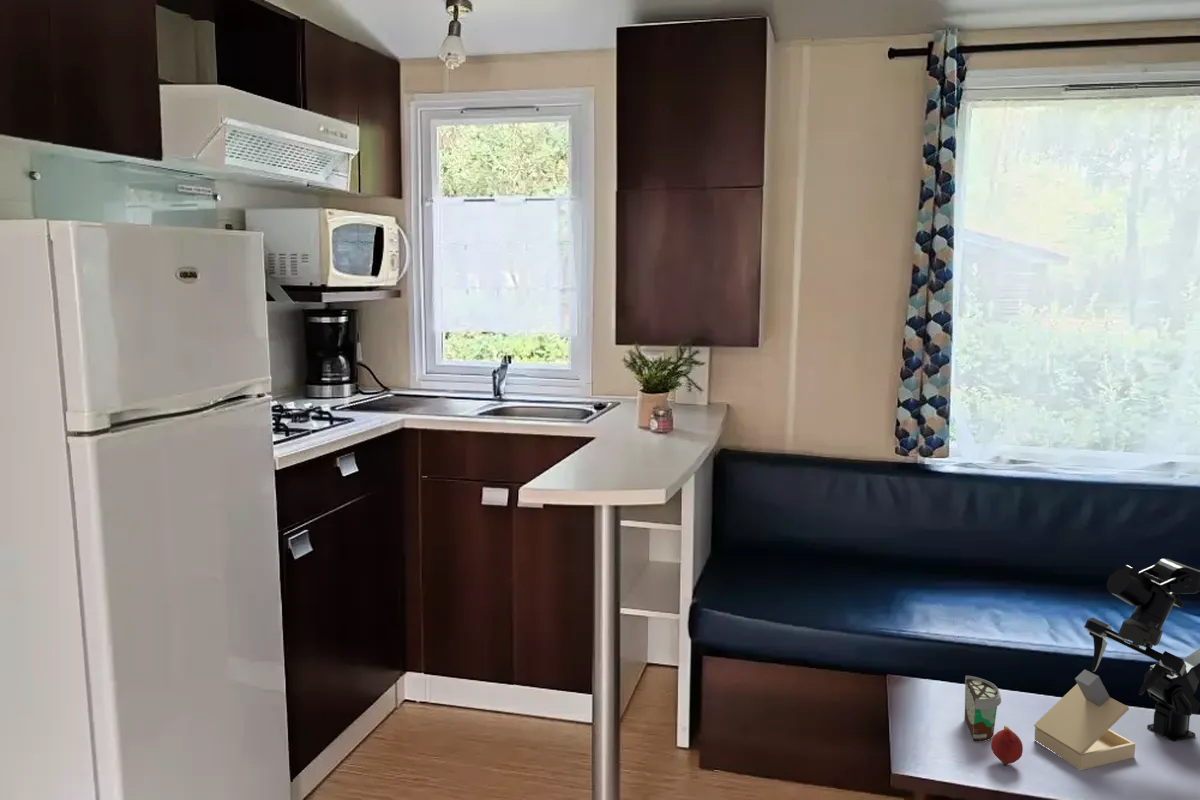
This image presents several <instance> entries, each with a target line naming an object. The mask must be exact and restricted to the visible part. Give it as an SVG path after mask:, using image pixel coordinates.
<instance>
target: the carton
mask: <svg viewBox="0 0 1200 800" xmlns="http://www.w3.org/2000/svg"><path fill="white" fill-rule="evenodd" d="M1034 739H1035V740H1036V741H1038V742H1039V743H1041V744H1042V745H1044V746H1045V747H1047V748H1049V749H1050V750H1052V751H1053V752H1055V753H1056V754H1057V755H1059V756H1061V757H1062V758H1063V759H1065V760H1066V761H1065V760H1064V761H1065V762H1067V761H1068V762H1069V763H1068V762H1067V763H1068V764H1070V765H1071V764H1072V765H1071V766H1073V767H1075V768H1076V767H1077V768H1076V769H1078V770H1079V769H1080V770H1079V771H1083V770H1088V769H1092V768H1096V767H1100V766H1104V765H1109V764H1112V763H1117V762H1121V761H1126V760H1129V759H1133V758H1135V753H1136V743H1135V742H1133V741H1132V740H1129V739H1128V738H1126V737H1124V736H1122V735H1120V734H1118V733H1117V732H1115V731H1114V730H1112V729H1110V728H1109V729H1108V730H1107V731H1106V732H1105V733H1104V734H1103V735H1102V736H1101V737H1100V738H1099V739H1098V740H1097V741H1096V742H1095V743H1094V744H1093V745H1092V746H1091V747H1090V748H1089V749H1088V750H1087V751H1086V752H1085V753H1084V754H1083V755H1082V756H1081V755H1080V754H1078V753H1076V752H1075V751H1073V750H1071V749H1070V748H1068V747H1066V746H1065V745H1063V744H1061V743H1060V742H1058V741H1056V740H1055V739H1053V738H1051V737H1050V736H1048V735H1046V734H1045V733H1043V732H1042V731H1040V730H1038V729H1037V728H1035V727H1034ZM1057 755H1056V756H1057ZM1059 756H1058V757H1059ZM1062 758H1061V759H1062ZM1063 759H1062V760H1063Z"/></svg>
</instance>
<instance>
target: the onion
mask: <svg viewBox="0 0 1200 800" xmlns="http://www.w3.org/2000/svg"><path fill="white" fill-rule="evenodd" d="M990 742H991V743H990V747H991V748H990V749H991V751H992V753H993V754H994V756H995V757H996V758H997V759H998V760H999V761H1000V762H1001V763H1002V764H1003V763H1005V764H1004V765H1006V764H1007V765H1011V764H1013V763H1015V762H1017V761H1019V760H1020V759H1021V757H1022V756H1023V753H1024V752H1023V751H1024V748H1023V743H1022V740H1021V739H1020V737H1019V736H1018V734H1016V733H1015V732H1014V731H1012V730H1011V729H1010V727H1009V726H1008V725H1004V726H1003V729H1001V730H999V731H997V732H996V733H995V734H993V737H992V738H991V741H990Z"/></svg>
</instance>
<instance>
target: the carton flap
mask: <svg viewBox="0 0 1200 800" xmlns="http://www.w3.org/2000/svg"><path fill="white" fill-rule="evenodd" d="M1074 680H1075V682H1076V684H1075V685H1074V686H1073V687H1072V688H1071V689H1070V690H1069V691H1068V692H1067V693H1066V694H1064V695H1063V696H1062V698H1060V700H1058V701H1057V702H1056V703H1055V704H1054V705H1052V707H1051V708H1049V709H1048V711H1047V712H1046V713H1045V714H1044V715H1043V716H1041V717H1040V718H1039V719H1038V720H1037V721H1036V722H1035V723H1034V724H1033V727H1034V729H1035V728H1037V729H1038V730H1040V731H1042V732H1043V733H1045V734H1046V735H1048V736H1050V737H1051V738H1053V739H1055V740H1056V741H1058V742H1060V743H1061V744H1063V745H1065V746H1066V747H1068V748H1070V749H1071V750H1073V751H1075V752H1076V753H1078V754H1080V755H1081V756H1082V755H1083V754H1084V753H1085V752H1086V751H1087V750H1088V749H1089V748H1090V747H1091V746H1092V745H1093V744H1094V743H1095V742H1096V741H1097V740H1098V739H1099V738H1100V737H1101V736H1102V735H1103V734H1104V733H1105V732H1106V731H1107V730H1108V729H1110V728H1111V727H1112V726H1114V725H1115V724H1116V723H1117V722H1118V720H1120V719H1121V718H1122V717H1123V716H1124V715H1125V714H1126V713H1127V712H1128V711H1129V710H1130V708H1129V706H1128V705H1126V704H1124V703H1122V702H1120V701H1118V700H1116V699H1114V698H1112V697H1110V695H1109V692H1108V691H1107V689H1106V687H1105V685H1104V684H1103V681H1102V679H1101V678H1100V676H1099V675H1097V674H1095V673H1093V672H1091V671H1089V670H1087V669H1083V670H1082V671H1081V672H1080V673H1079V674H1078V675H1077V676H1076V677H1075V678H1074Z"/></svg>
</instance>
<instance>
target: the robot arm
mask: <svg viewBox="0 0 1200 800" xmlns="http://www.w3.org/2000/svg"><path fill="white" fill-rule="evenodd" d="M1106 581H1107V582H1106V588H1107V589H1106V590H1107V591H1108V592H1109V593H1110V594H1112V596H1113V595H1114V596H1115V597H1117V598H1119V599H1120V600H1121V601H1124V602H1125V603H1127V604H1128V605H1130V606H1134V607H1135V608H1134V610H1133V612H1132V613H1131V615H1130V617H1129V618H1126V619H1125V620H1123V621H1122V623H1121V625H1120V628H1119V631H1118V632H1117V631H1114V630H1113V628H1112V627H1111V626H1110V624H1108V623H1106V622H1104V621H1101V620H1099V619H1098V618H1095V617H1090V618H1088V619H1087V621H1086V622H1085V624H1084V626H1083V628H1084V629H1085V630H1086V631H1087V632H1088V635H1089V636H1090V637H1091V639H1092V640H1093V659H1092V668H1091V669H1092V670H1091V671H1092V672H1096V671H1097V669H1098V667H1099V666H1100V663H1101V660H1102V658H1103V655H1104V653H1105V650H1106V648H1107V645H1108V642H1107V641H1106V640H1107V639H1110V640H1112V641H1114V642H1116V643H1118V644H1121V645H1123V646H1125V647H1127V648H1129V649H1131V650H1133V651H1135V652H1138V653H1139V654H1141V655H1144V656H1146V657H1148V658H1150V659H1153V660H1155V661H1157V662H1155V664H1152V665H1149V668H1150V669H1148V670H1147V671H1146V672H1145V674H1144V678H1143V684H1142V685H1141V686H1140V690H1139V692H1138V695H1140V696H1142V695H1143V694H1144V693H1146V692H1148V693H1147V694H1148V695H1149V697H1150V698H1151V699H1154V700H1155V701H1156V702H1157V703H1155V707H1154V709H1155V710H1154V712H1153V723H1151V724H1147V726H1146V728H1147V729H1150V730H1151V731H1153V732H1155V733H1157V734H1159V736H1160V735H1161V736H1162V737H1165V738H1167V739H1168V740H1170V741H1172V742H1177V741H1180V740H1185V739H1190V738H1193V737H1195V736H1196V733H1195V732H1193V731H1192V730H1189V729H1190V721H1191V719H1190V717H1191V716H1192V715H1193V714H1198V713H1199V711H1200V701H1198V699H1197V698H1195V697H1194V696H1193V695H1195V693H1196V691H1197V689H1198V686H1199V683H1200V648H1198V649H1197V650H1195V651H1193V652H1192V653H1191V654H1189V655H1187V656H1185V657H1184V658H1181V657H1179V656H1177V655H1176V654H1175V655H1174V654H1173V653H1171V652H1168V651H1166V650H1164V652H1163V653H1162V652H1160V651H1157V650H1155V649H1153V646H1154V647H1156V646H1158V644H1159V643H1160V641H1161V638H1162V636H1163V630H1162V628H1163V626H1164V624H1165V622H1166V620H1167V618H1168V616H1169V614H1170V612H1171V610H1172V608H1173V606H1175V607H1178V608H1181V609H1183V607H1184V603H1183V601H1182V600H1181V597H1180V595H1189V594H1191V595H1192V594H1193V595H1195V594H1197V593H1199V592H1200V569H1197V568H1194V567H1191V566H1187V565H1185V564H1182V563H1181V562H1177V561H1175V560H1172V559H1169V558H1161V559H1159V560H1158V562H1156V563H1155V564H1153V565H1151V566H1149V567H1146V568H1143V569H1141V570H1140V571H1138V570H1137V569H1135V568H1134V567H1131V566H1130V565H1128V564H1126V565H1125V566H1124V567H1123V568H1122V569H1118V570H1116V571H1114V572H1113V573H1112V574H1110V575H1109V577H1108V579H1107V580H1106ZM1142 647H1143V648H1145V649H1143V648H1142Z"/></svg>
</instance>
